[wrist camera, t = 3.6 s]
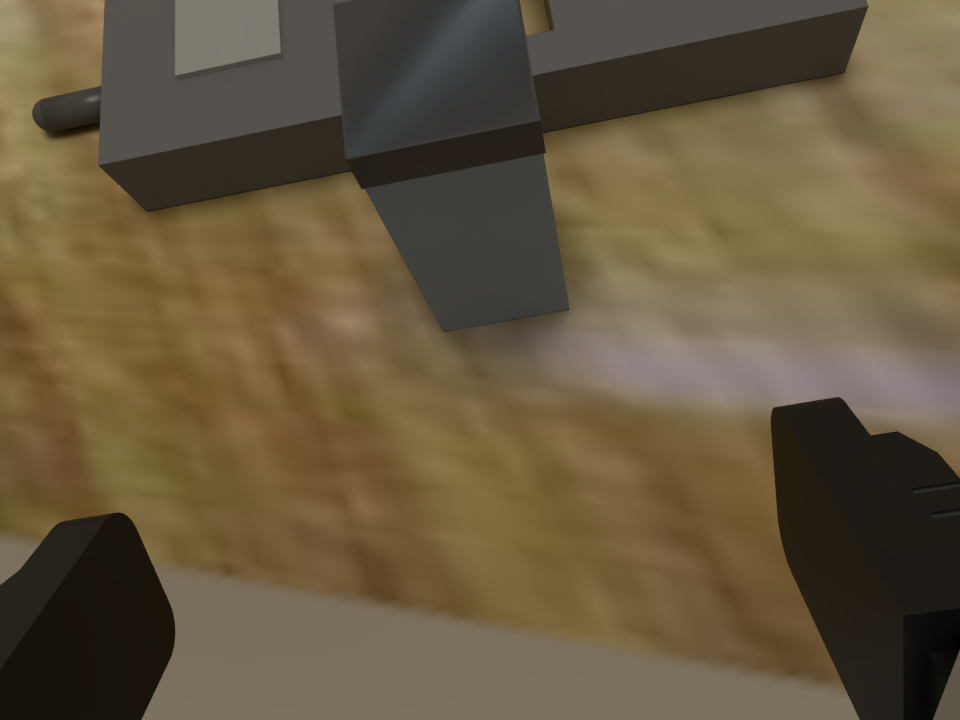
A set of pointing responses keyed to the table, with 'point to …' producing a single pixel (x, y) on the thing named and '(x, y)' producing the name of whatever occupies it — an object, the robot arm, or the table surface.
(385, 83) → the plug
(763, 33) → the power strip
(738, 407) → the table surface
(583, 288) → the table surface
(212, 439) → the table surface
